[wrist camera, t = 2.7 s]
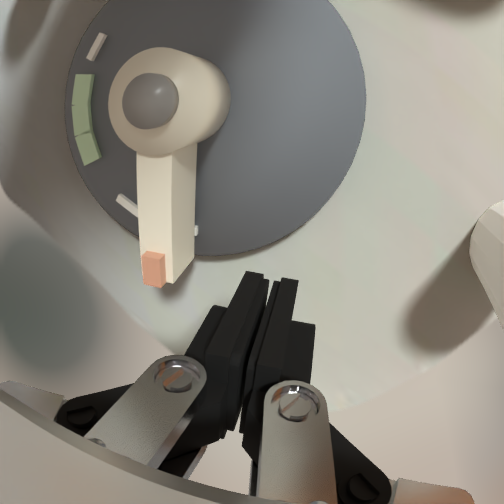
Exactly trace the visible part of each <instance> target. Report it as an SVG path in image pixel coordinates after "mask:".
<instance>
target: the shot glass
mask: <svg viewBox="0 0 504 504" xmlns="http://www.w3.org/2000/svg"><path fill="white" fill-rule="evenodd" d="M469 255H470V259H471V263H472V267H473V269H474V270H475V272H476V274H477V276H478V278H479V280H480V282H481V284H482V286H483V288H484V290H485V292H486V294H487V296H488V298H489V300H490V302H491V304H492V306H493V308H494V310H495V313H496V315H497V317H498V319H499V321H500V324H501V326H502V328H503V330H504V201H500V202H498V203H496V204H495V205H493V206H491V207H489V208H488V209H487V210H486V211H485V213H484V214H483V215H482V216H481V217H480V218H479V219H478V221H477V223H476V225H475V228H474V230H473V232H472V235H471V239H470V248H469Z"/></svg>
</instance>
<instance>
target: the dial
mask: <svg viewBox="0 0 504 504" xmlns="http://www.w3.org/2000/svg"><path fill="white" fill-rule="evenodd" d="M156 47H166V48H172V49H175V50H179V51H182V52H185V53H188V54H191V55H194V56H197V57H200V58H203V59H206V60H208V61H210V62H212V63H213V64H215V65H216V66H217V67H218V68H219V69H220V70H221V71H222V73H223V74H224V76H225V77H226V79H227V82H228V84H229V88H230V94H231V102H230V108H229V112H228V115H227V117H226V119H225V121H224V123H223V125H222V126H221V127H220V128H219V130H218V131H217V132H216V133H215V134H213V135H212V136H211V137H209V138H207V139H206V140H204V141H201V142H199V143H197V162H196V189H195V233H194V255H201V256H221V255H229V254H236V253H242V252H246V251H249V250H253V249H257V248H260V247H262V246H265V245H267V244H270V243H272V242H274V241H277V240H279V239H281V238H282V237H284V236H286V235H287V234H289V233H291V232H293V231H294V230H296V229H297V228H299V227H300V226H301V225H302V224H304V223H305V222H306V221H308V220H309V219H310V218H311V217H313V216H314V215H315V214H316V213H317V212H318V211H319V210H320V209H321V208H322V207H323V206H324V205H325V204H326V202H327V201H328V200H329V199H330V198H331V196H332V195H333V194H334V192H335V191H336V189H337V188H338V187H339V185H340V184H341V183H342V181H343V179H344V177H345V175H346V173H347V172H348V170H349V168H350V166H351V164H352V162H353V159H354V157H355V154H356V151H357V149H358V146H359V143H360V140H361V135H362V130H363V126H364V121H365V109H366V88H365V78H364V71H363V67H362V63H361V59H360V55H359V51H358V49H357V46H356V44H355V42H354V39H353V37H352V35H351V33H350V30H349V29H348V27H347V25H346V24H345V22H344V21H343V19H342V18H341V16H340V14H339V13H338V11H337V10H336V9H335V8H334V7H333V6H332V4H331V3H330V2H329V1H328V0H109V1H108V3H107V4H106V5H105V6H104V7H103V8H102V9H101V10H100V12H99V13H98V14H97V15H96V17H95V18H94V19H93V21H92V22H91V24H90V25H89V27H88V29H87V30H86V32H85V34H84V35H83V37H82V39H81V41H80V43H79V46H78V48H77V50H76V52H75V55H74V58H73V61H72V64H71V68H70V71H69V75H68V81H67V86H66V95H65V123H66V130H67V136H68V141H69V145H70V149H71V152H72V156H73V159H74V161H75V164H76V166H77V169H78V171H79V173H80V175H81V177H82V179H83V181H84V182H85V184H86V186H87V188H88V189H89V191H90V192H91V193H92V195H93V196H94V198H95V199H96V200H97V202H98V203H99V204H100V205H101V206H102V207H103V208H104V210H105V211H106V212H107V213H108V214H109V215H110V216H111V217H113V218H114V219H115V220H116V221H117V222H118V223H119V224H120V225H122V226H123V227H125V228H126V229H128V230H129V231H130V232H132V233H133V234H135V235H137V236H138V237H139V224H138V203H137V151H135V150H133V149H131V148H130V147H128V146H127V145H126V144H124V143H123V141H122V140H121V139H120V138H119V137H118V135H117V134H116V132H115V130H114V128H113V126H112V124H111V120H110V117H109V110H108V100H109V93H110V88H111V85H112V82H113V80H114V78H115V76H116V74H117V73H118V71H119V70H120V68H121V67H122V66H123V65H124V64H125V63H126V62H127V61H128V60H129V59H130V58H131V57H133V56H134V55H136V54H137V53H139V52H142V51H144V50H147V49H150V48H156Z"/></svg>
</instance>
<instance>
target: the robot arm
mask: <svg viewBox="0 0 504 504" xmlns="http://www.w3.org/2000/svg"><path fill="white" fill-rule="evenodd" d="M263 278H264V275H263V274H260V273H255V272H250V271H246V272H245V274H244V276H243V278H242V280H241V282H240V284H239V286H238V288H237V290H236V292H235V294H234V296H233V298H232V300H231V302H230V304H229V306H228V308H226V307H221V306H217V305H214V306H213V307H212V308H211V309H210V311H209V313H208V315H207V316H206V318H205V320H204V322H203V323H202V325H201V327H200V329H199V330H198V332H197V334H196V335H195V337H194V339H193V341H192V342H191V344H190V346H189V348H188V349H187V351H186V353H185V355H184V356H183V355H171V356H165V357H163V358H160V359H158V360H156V361H155V362H154V363H153V364H152V365H151V366H150V367H149V368H148V369H147V370H146V371H145V372H144V373H143V374H142V375H141V376H140V377H139V378H138V379H137V381H136V382H135V383H133V384H129V385H125V386H121V387H117V388H114V389H110V390H106V391H101V392H97V393H93V394H88V395H84V396H80V397H76V398H73V399H70V400H69V401H68V400H66V399H65V397H64V396H62V395H58V394H55V393H51V392H47V391H44V390H41V389H37V388H34V387H31V386H27V385H24V384H21V383H18V382H14V381H6V382H2V383H0V504H474V500H473V498H472V496H471V495H470V494H469V493H468V492H467V491H466V490H463V489H460V488H455V487H448V486H441V485H434V484H428V483H422V482H417V481H412V480H406V479H402V478H399V479H398V480H397V481H395V480H390V479H388V478H387V476H386V475H385V474H384V473H383V472H382V471H381V470H380V469H379V468H378V467H377V466H376V465H374V464H373V463H372V462H371V461H370V460H369V459H368V458H367V457H365V456H364V455H363V454H362V453H361V452H360V451H359V450H358V449H357V448H356V447H355V446H354V445H353V444H351V443H350V442H349V441H348V440H347V439H346V438H345V437H344V436H343V435H342V434H341V433H340V432H339V431H338V430H336V428H335V427H334V426H332V425H331V424H330V423H329V417H328V410H327V403H326V400H325V397H324V396H323V394H322V393H321V392H320V391H319V390H318V389H317V388H315V387H314V386H313V385H310V379H311V370H312V360H313V350H314V338H315V324H309V323H304V322H298V321H292V314H293V309H294V304H295V298H296V293H297V287H298V281H299V280H294V279H288V278H281V282H279V281H274V283H273V286H272V289H271V292H270V296H269V299H268V302H267V305H266V301H267V294H268V287H269V280H268V279H263ZM242 404H243V405H242ZM241 408H242V413H241V421H240V429H239V432H240V433H243V434H244V435H243V441H242V447H243V448H244V449H245V451H246V452H247V453H248V454H249V456H250V457H251V458H252V461H251V471H250V483H249V495H245V494H240V493H236V492H231V491H227V490H223V489H219V488H215V487H212V486H208V485H204V484H201V483H197V482H194V481H191V480H188V478H189V477H190V475H191V474H192V472H193V470H194V469H195V467H196V466H197V464H198V463H199V461H200V459H201V458H202V456H203V454H204V453H205V451H206V448H207V445H208V444H211V443H213V442H216V441H218V440H219V439H220V438H221V439H224V437H225V434H226V432H227V430H230V431H234V429H235V426H236V423H237V420H238V417H239V414H240V411H241Z"/></svg>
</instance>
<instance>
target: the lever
mask: <svg viewBox="0 0 504 504" xmlns="http://www.w3.org/2000/svg"><path fill="white" fill-rule="evenodd" d="M230 102H231V94H230V88H229V84H228V82H227V79H226V77H225V76H224V74H223V73H222V71H221V70H220V69H219V68H218V67H217V66H216V65H215V64H213V63H212V62H210V61H208V60H206V59H203V58H200V57H197V56H194V55H191V54H188V53H185V52H182V51H179V50H175V49H172V48H166V47H156V48H150V49H147V50H144V51H142V52H139V53H137V54H136V55H134V56H133V57H131V58H130V59H129V60H128V61H127V62H126V63H125V64H124V65H123V66H122V67H121V68H120V70H119V71H118V73H117V74H116V76H115V78H114V80H113V82H112V85H111V88H110V93H109V100H108V110H109V117H110V120H111V124H112V126H113V128H114V130H115V132H116V134H117V135H118V137H119V138H120V139H121V140H122V141H123V143H124V144H126V145H127V146H128V147H130V148H131V149H133V150H135V151H137V203H138V224H139V240H140V254H141V266H142V277H143V281H144V284H146V285H150V286H154V287H158V288H162V287H163V285H164V284H165V283H166V282H168V283H172V284H174V282H175V281H176V280H177V278H178V277H179V276H180V275H181V273H182V272H183V271H184V270H185V268H186V267H187V266H188V265H189V263H190V262H191V261H192V260H193V258H194V233H195V189H196V162H197V143H199V142H201V141H204V140H206V139H207V138H209V137H211V136H212V135H213V134H215V133H216V132H217V131H218V130H219V128H220V127H221V126H222V125H223V123H224V121H225V119H226V117H227V115H228V112H229V108H230Z"/></svg>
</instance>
